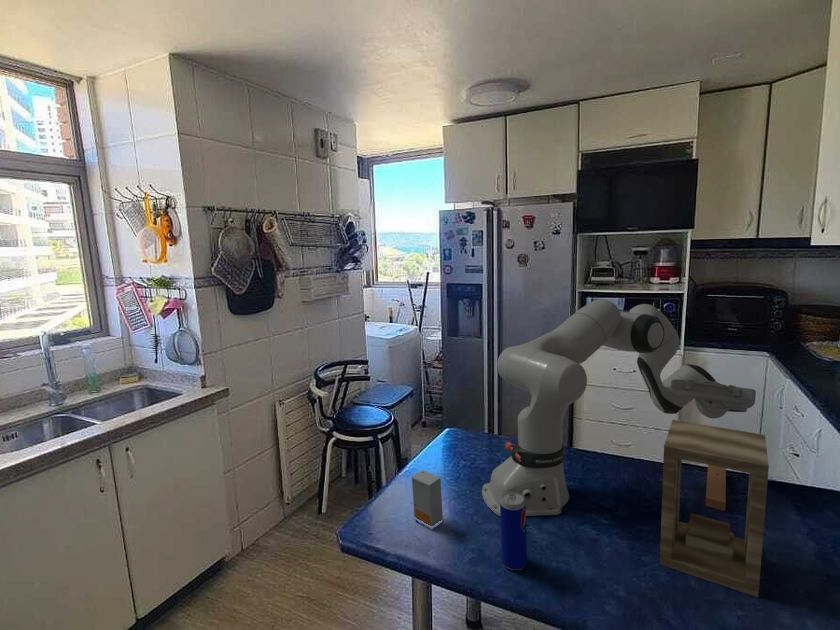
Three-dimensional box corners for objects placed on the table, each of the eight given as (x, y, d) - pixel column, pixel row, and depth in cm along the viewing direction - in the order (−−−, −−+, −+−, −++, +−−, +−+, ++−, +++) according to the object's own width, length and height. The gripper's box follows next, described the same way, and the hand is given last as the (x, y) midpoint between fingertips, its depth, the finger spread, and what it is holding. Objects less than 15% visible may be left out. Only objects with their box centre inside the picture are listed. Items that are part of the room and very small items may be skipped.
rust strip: (725, 512, 105) (725, 502, 105) (705, 507, 107) (705, 497, 107) (725, 466, 125) (725, 458, 124) (708, 463, 127) (708, 455, 126)
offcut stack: (732, 561, 87) (733, 541, 86) (685, 546, 92) (686, 527, 91) (732, 543, 92) (734, 524, 91) (688, 530, 96) (689, 512, 96)
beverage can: (527, 573, 90) (525, 506, 87) (501, 571, 91) (499, 505, 88) (526, 555, 94) (525, 491, 92) (502, 553, 96) (500, 490, 93)
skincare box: (413, 521, 108) (410, 476, 106) (425, 513, 111) (422, 469, 109) (432, 531, 104) (429, 485, 102) (443, 522, 107) (441, 477, 105)
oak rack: (758, 597, 80) (768, 466, 76) (659, 564, 90) (663, 445, 85) (755, 551, 92) (764, 434, 87) (668, 526, 101) (672, 419, 97)
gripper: (673, 381, 139) (669, 369, 128) (754, 391, 127) (757, 379, 116) (670, 400, 137) (666, 390, 126) (753, 413, 125) (756, 403, 114)
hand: (711, 385), depth 121 cm, fingers open, 8 cm apart
